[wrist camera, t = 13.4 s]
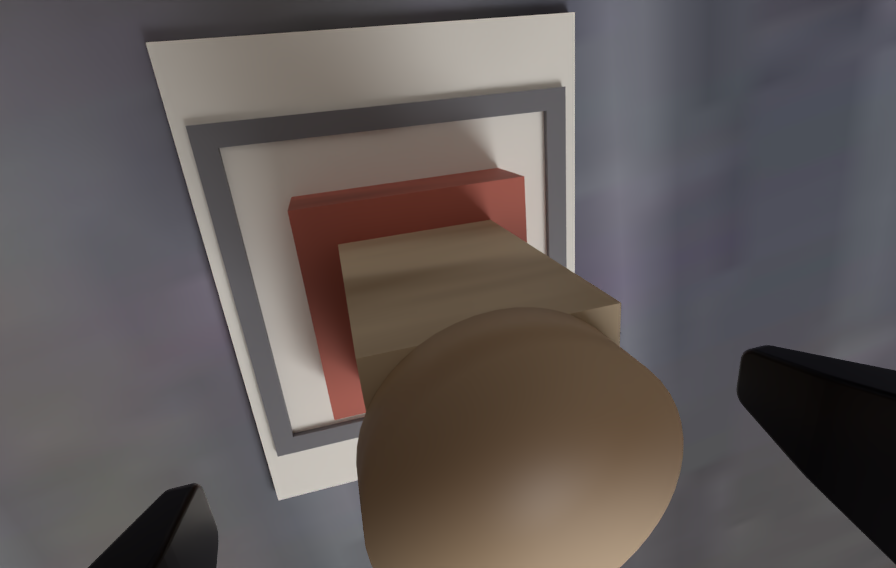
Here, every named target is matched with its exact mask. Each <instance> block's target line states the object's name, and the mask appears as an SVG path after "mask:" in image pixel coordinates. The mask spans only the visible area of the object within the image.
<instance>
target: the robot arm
mask: <svg viewBox="0 0 896 568" xmlns="http://www.w3.org/2000/svg"><path fill="white" fill-rule="evenodd" d="M737 395H738V398H739V400H740V402H741V403H742V405H743V406H744V407H745V408H746V409H747V411H748V412H749V413H750V414H751V415H752V416H753V417H754V419H755V420H756V421H757V422H758V423H759V424H760V425H761V427H762V428H763V429H764V430H765V431H766V432H767V433H768V435H769V436H770V437H771V438H772V439H773V440H774V441H775V443H776V444H777V445H778V446H779V447H780V448H781V449H782V451H783V452H784V453H785V454H786V455H787V456H788V457H789V459H790V460H791V461H792V462H793V463H794V464H795V465H796V466H797V468H798V469H799V470H800V471H801V472H802V473H803V474H804V475H805V476H806V477H807V478H808V479H809V480H810V481H811V482H812V483H813V484H814V485H815V486H816V487H817V488H818V489H819V490H820V491H821V492H822V493H823V494H824V495H825V496H826V497H827V498H828V499H829V500H830V501H831V502H832V503H833V504H834V505H835V506H836V507H837V508H838V509H839V510H840V511H841V512H842V513H843V514H844V515H845V516H846V517H847V518H848V519H849V520H851V521H852V522H853V523H854V524H855V525H856V526H857V527H858V528H859V529H860V530H861V531H862V532H863V533H864V534H865V535H866V536H867V537H868V538H869V539H870V540H871V541H872V542H873V543H874V544H875V545H876V546H877V547H878V548H879V549H880V550H881V551H882V552H883V553H884V554H885V555H886V556H887V557H889V558H890V559H891V560H892V561H893V562H894V563H895V564H896V371H895V370H890V369H885V368H880V367H875V366H870V365H865V364H860V363H855V362H850V361H845V360H840V359H835V358H830V357H825V356H820V355H815V354H810V353H805V352H800V351H795V350H790V349H785V348H780V347H775V346H770V345H766V346H760V347H756V348H752V349H748V350H746V351H745V352H744V353H743V355H742V357H741V362H740V369H739V375H738V382H737ZM217 552H218V531H217V526H216V523H215V520H214V517H213V514H212V512H211V509H210V506H209V503H208V501H207V498H206V495H205V492H204V490H203V488H202V487H201V486H200V485H199V484H196V483H192V484H188V485H184V486H180V487H176V488H172V489H169V490H167V491H165V492H164V493H163V494H162V495H161V496H160V497H159V498H158V499H157V500H156V501H155V502H154V503H153V504H152V505H151V506H150V507H149V508H148V509H147V510H146V511H145V512H144V513H143V514H142V515H141V516H139V517H138V518H137V519H136V520H135V521H134V522H133V523H132V524H131V525H130V526H129V527H128V528H127V529H126V530H125V531H124V532H123V533H122V534H121V535H120V536H119V537H118V538H117V539H116V540H115V541H114V542H113V543H112V544H111V545H110V546H109V547H108V548H107V549H106V550H105V551H104V552H103V553H102V554H101V555H100V556H99V557H98V558H97V559H96V560H95V561H94V562H93V563H92V564H91V565H90V566H89V567H88V568H216V564H217Z"/></svg>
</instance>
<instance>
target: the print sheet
mask: <svg viewBox="0 0 896 568" xmlns="http://www.w3.org/2000/svg"><path fill="white" fill-rule="evenodd" d="M146 46H147V49H148V53H149V56H150V60H151V63H152V67H153V70H154V73H155V77H156V80H157V84H158V87H159V91H160V94H161V98H162V101H163V104H164V108H165V111H166V115H167V118H168V122H169V125H170V129H171V132H172V135H173V139H174V142H175V146H176V149H177V153H178V156H179V160H180V163H181V166H182V170H183V173H184V177H185V180H186V184H187V187H188V191H189V194H190V197H191V201H192V204H193V208H194V211H195V215H196V218H197V222H198V225H199V228H200V232H201V235H202V239H203V242H204V246H205V249H206V253H207V256H208V259H209V263H210V266H211V270H212V273H213V277H214V280H215V284H216V287H217V290H218V294H219V297H220V301H221V304H222V308H223V311H224V315H225V318H226V321H227V325H228V328H229V332H230V335H231V339H232V342H233V346H234V349H235V352H236V356H237V359H238V363H239V366H240V370H241V373H242V377H243V380H244V383H245V387H246V390H247V394H248V397H249V401H250V404H251V408H252V411H253V414H254V418H255V421H256V425H257V428H258V432H259V435H260V439H261V442H262V445H263V449H264V452H265V456H266V459H267V463H268V466H269V470H270V473H271V476H272V480H273V483H274V487H275V490H276V494H277V497H278V500H282V499H286V498H290V497H294V496H298V495H302V494H306V493H310V492H313V491H317V490H321V489H325V488H329V487H333V486H337V485H341V484H345V483H349V482H352V481H356V480H358V477H357V468H356V453H357V443H358V438H359V432H360V428H361V425H362V422H363V419H364V417H365V414H366V413H363V414H359V415H355V416H350V417H346V418H342V419H337V420H334V417H333V412H332V408H331V403H330V399H329V394H328V390H327V385H326V381H325V376H324V372H323V367H322V363H321V359H320V354H319V350H318V345H317V341H316V336H315V332H314V327H313V323H312V318H311V314H310V309H309V305H308V301H307V296H306V292H305V287H304V283H303V278H302V274H301V269H300V265H299V260H298V256H297V251H296V247H295V242H294V238H293V234H292V229H291V225H290V220H289V216H288V207H289V204H290V200H291V197H294V196H301V195H308V194H315V193H323V192H330V191H337V190H344V189H351V188H358V187H365V186H372V185H379V184H387V183H394V182H401V181H408V180H415V179H422V178H429V177H436V176H443V175H450V174H458V173H465V172H472V171H479V170H486V169H493V168H500V169H503V170H506V171H509V172H513V173H516V174H519V175H522V176H524V180H525V204H526V229H527V243H528V244H529V245H531V246H533V247H534V248H536V249H537V250H539V251H540V252H542V253H544V254H545V255H547V256H548V257H550V258H551V259H553V260H555V261H556V262H558V263H559V264H561V265H562V266H564V267H566V268H567V269H569V270H570V271H572V272H573V273H575V12H571V13H557V14H543V15H528V16H514V17H500V18H486V19H472V20H458V21H443V22H429V23H415V24H401V25H387V26H373V27H358V28H344V29H330V30H316V31H302V32H288V33H273V34H259V35H245V36H231V37H217V38H203V39H188V40H174V41H160V42H146Z"/></svg>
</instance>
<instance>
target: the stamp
mask: <svg viewBox="0 0 896 568" xmlns="http://www.w3.org/2000/svg"><path fill="white" fill-rule="evenodd" d="M288 216H289V220H290V225H291V229H292V234H293V238H294V242H295V247H296V251H297V256H298V260H299V265H300V269H301V274H302V278H303V283H304V287H305V292H306V296H307V301H308V305H309V309H310V314H311V318H312V323H313V327H314V332H315V336H316V341H317V345H318V350H319V354H320V359H321V363H322V367H323V372H324V376H325V381H326V385H327V390H328V394H329V399H330V403H331V408H332V412H333V417H334V420H337V419H342V418H346V417H350V416H355V415H359V414H363V413H366V414H365V417H364V419H363V422H362V425H361V428H360V432H359V438H358V443H357V453H356V468H357V477H358V486H359V495H360V504H361V513H362V522H363V530H364V538H365V546H366V550H367V553H368V556H369V559H370V562H371V565H372V567H373V568H619V567H620V566H622V565H623V564H624V563H625V562H626V561H627V560H628V559H629V558H630V557H631V556H632V555H633V554H634V553H635V552H636V551H637V550H638V548H639V547H640V546H641V545H642V544H643V543H644V541H645V540H646V539H647V538H648V537H649V535H650V534H651V532H652V531H653V529H654V528H655V527H656V525H657V524H658V522H659V521H660V519H661V517H662V515H663V514H664V512H665V510H666V508H667V506H668V504H669V502H670V500H671V497H672V495H673V493H674V490H675V488H676V484H677V481H678V478H679V474H680V470H681V464H682V458H683V433H682V425H681V420H680V417H679V414H678V410H677V407H676V405H675V403H674V401H673V399H672V397H671V395H670V393H669V392H668V390H667V389H666V388H665V386H664V385H663V384H662V382H661V381H660V380H659V379H658V378H657V377H656V376H655V375H654V374H653V373H652V372H651V371H650V370H648V369H647V368H646V367H645V366H644V365H642V364H641V363H640V362H638V361H637V360H636V359H635V358H633V357H632V356H631V355H630V354H628V353H627V352H626V351H624V350H623V349H622V348H621V347H620V318H621V303H620V302H619V301H617V300H616V299H614V298H612V297H611V296H609V295H608V294H606V293H605V292H603V291H602V290H600V289H598V288H597V287H595V286H594V285H592V284H591V283H589V282H587V281H586V280H584V279H583V278H581V277H580V276H578V275H576V274H575V273H573V272H572V271H570V270H569V269H567V268H566V267H564V266H562V265H561V264H559V263H558V262H556V261H555V260H553V259H551V258H550V257H548V256H547V255H545V254H544V253H542V252H540V251H539V250H537V249H536V248H534V247H533V246H531V245H529V244H528V243H527V229H526V204H525V180H524V176H522V175H519V174H516V173H513V172H509V171H506V170H503V169H500V168H493V169H486V170H479V171H472V172H465V173H458V174H450V175H443V176H436V177H429V178H422V179H415V180H408V181H401V182H394V183H387V184H379V185H372V186H365V187H358V188H351V189H344V190H337V191H330V192H323V193H315V194H308V195H301V196H294V197H291V200H290V204H289V207H288Z"/></svg>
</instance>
